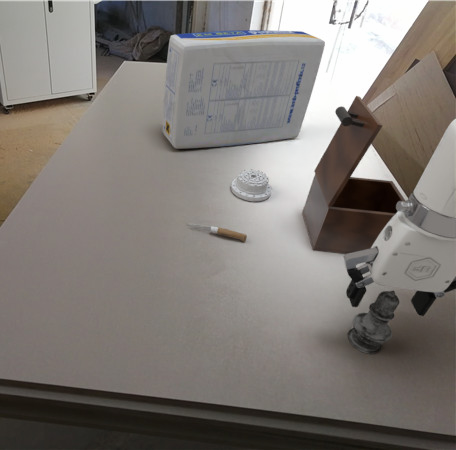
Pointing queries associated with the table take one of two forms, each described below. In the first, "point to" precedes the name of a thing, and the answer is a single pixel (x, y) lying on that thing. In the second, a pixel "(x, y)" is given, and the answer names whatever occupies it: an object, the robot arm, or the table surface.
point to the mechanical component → (251, 186)
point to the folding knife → (220, 231)
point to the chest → (350, 215)
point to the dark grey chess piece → (374, 324)
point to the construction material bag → (238, 86)
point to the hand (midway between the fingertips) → (384, 304)
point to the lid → (346, 148)
